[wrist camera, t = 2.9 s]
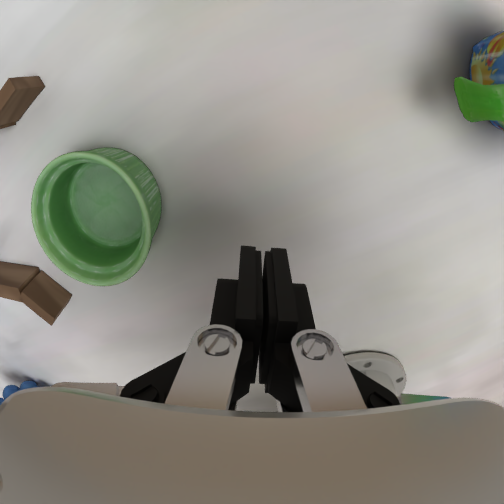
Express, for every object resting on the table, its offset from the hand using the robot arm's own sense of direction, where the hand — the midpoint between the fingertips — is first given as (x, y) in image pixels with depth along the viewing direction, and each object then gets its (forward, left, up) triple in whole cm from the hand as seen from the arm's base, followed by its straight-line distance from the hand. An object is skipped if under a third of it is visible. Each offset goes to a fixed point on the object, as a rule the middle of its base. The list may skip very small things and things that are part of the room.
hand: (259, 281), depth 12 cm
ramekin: (-1, +11, -10) cm, 15 cm away
